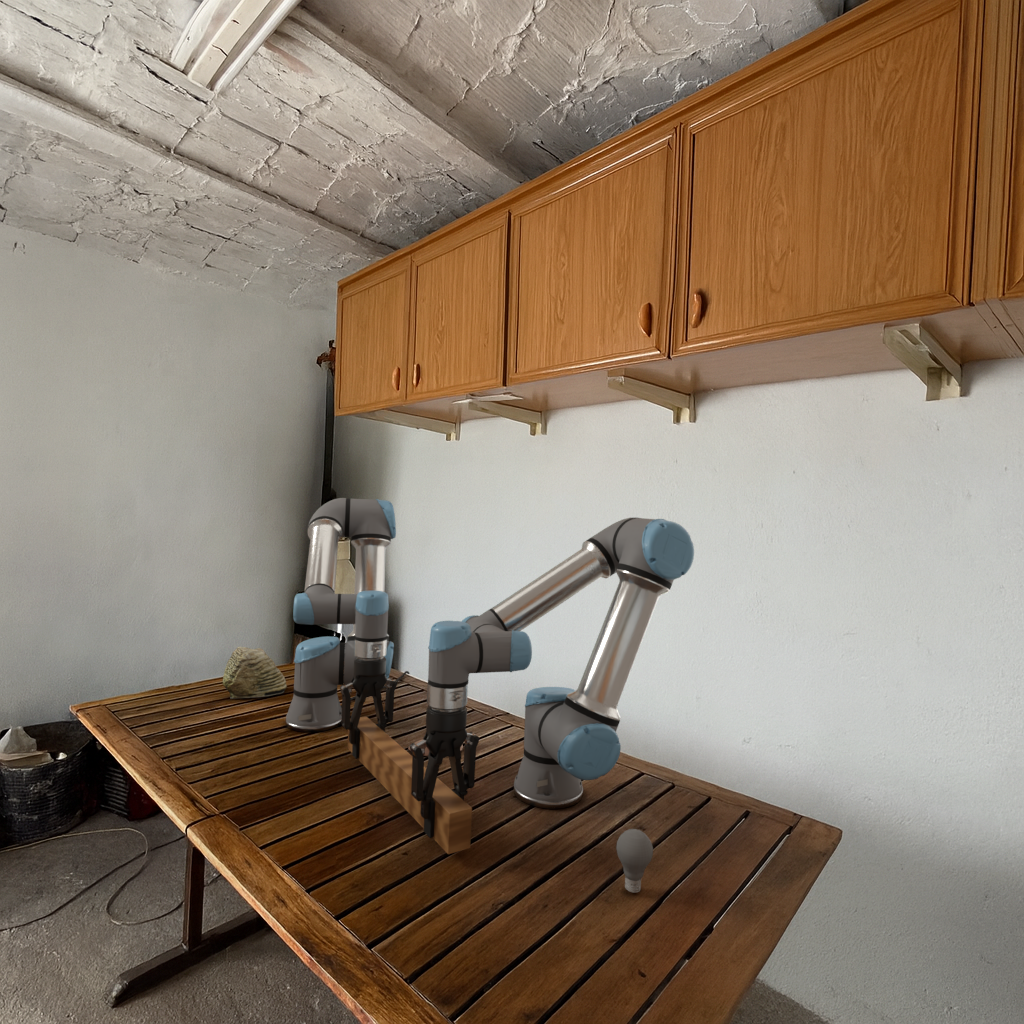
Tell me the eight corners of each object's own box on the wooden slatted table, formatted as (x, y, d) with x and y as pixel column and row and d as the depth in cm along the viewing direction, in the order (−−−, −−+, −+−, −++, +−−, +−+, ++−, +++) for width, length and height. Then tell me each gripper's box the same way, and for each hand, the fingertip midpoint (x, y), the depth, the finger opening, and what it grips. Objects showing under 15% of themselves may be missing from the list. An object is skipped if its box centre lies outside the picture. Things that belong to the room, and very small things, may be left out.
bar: (347, 748, 155) (348, 718, 155) (365, 745, 157) (366, 716, 157) (448, 854, 111) (449, 813, 111) (470, 847, 113) (472, 807, 113)
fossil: (218, 695, 195) (220, 647, 195) (278, 685, 208) (279, 640, 207) (228, 703, 189) (230, 653, 188) (289, 692, 201) (290, 645, 201)
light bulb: (610, 879, 108) (613, 822, 108) (644, 879, 109) (647, 822, 109) (619, 902, 102) (622, 840, 102) (655, 901, 103) (658, 840, 103)
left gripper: (338, 664, 142) (334, 767, 142) (411, 656, 152) (407, 753, 152) (328, 656, 148) (324, 755, 149) (398, 650, 158) (394, 742, 158)
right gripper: (411, 719, 109) (405, 853, 110) (497, 705, 119) (492, 828, 119) (394, 706, 116) (389, 833, 116) (477, 694, 125) (472, 811, 126)
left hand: (366, 754), depth 150 cm, fingers closed on bar, 4 cm apart
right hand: (441, 830), depth 118 cm, fingers closed on bar, 4 cm apart
